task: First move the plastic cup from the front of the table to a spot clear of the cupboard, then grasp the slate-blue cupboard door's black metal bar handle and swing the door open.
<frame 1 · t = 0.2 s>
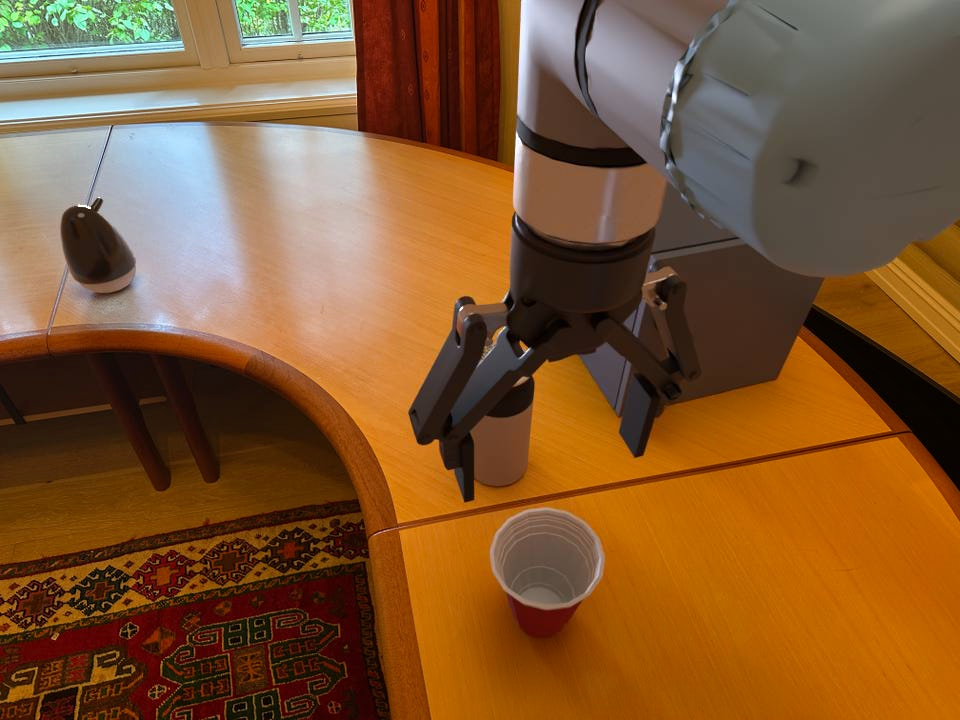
hand: (550, 464, 46), 27 cm above the table, tool pointing down, fingers open, 13 cm apart
cupboard: (663, 352, 95), on the table
cupboard door: (736, 339, 77), point 13 cm above the table, hinge at 0.0°
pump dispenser: (113, 284, 108), on the table
plastic cup: (538, 611, 65), on the table
travel mug: (497, 463, 79), on the table
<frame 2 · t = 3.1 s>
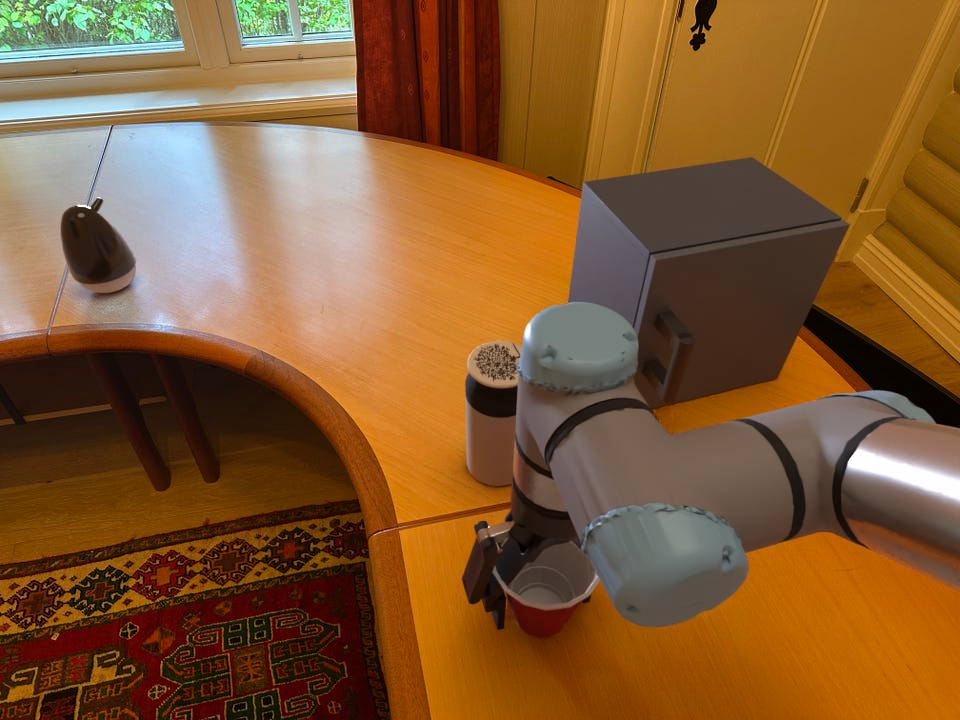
hand: (539, 603, 64), 1 cm above the table, tool pointing down, fingers closed on plastic cup, 9 cm apart
plastic cup: (538, 611, 65), on the table, touching gripper
everything else where it was.
when the fingers open (1 cm above the table, at t = 10.1 s): plastic cup stays where it is, on the table.
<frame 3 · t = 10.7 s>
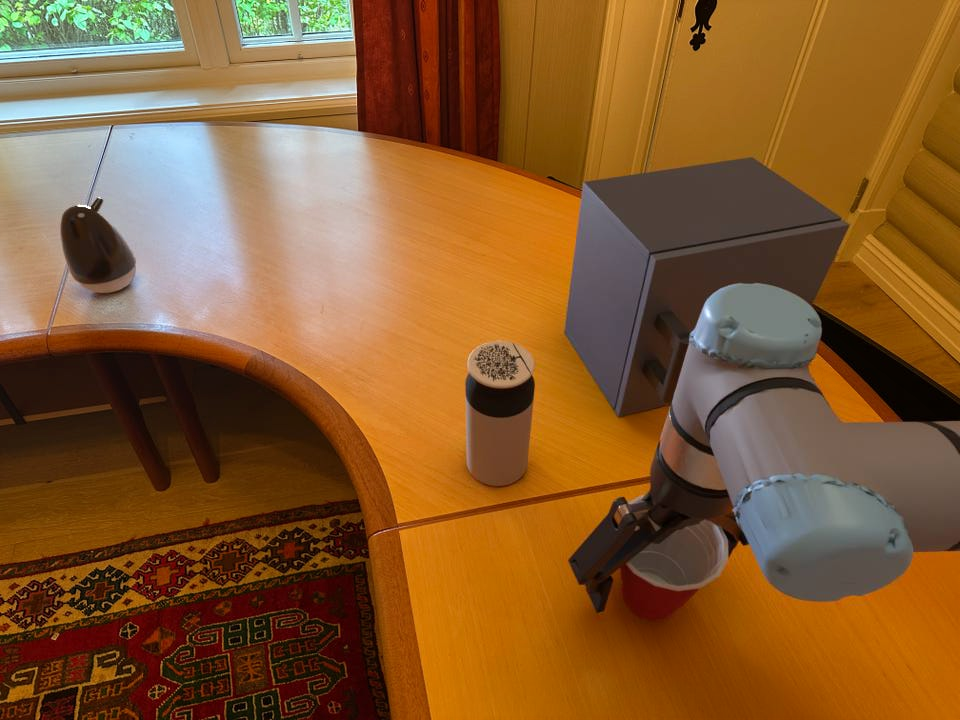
hand: (653, 582, 64), 3 cm above the table, tool pointing down, fingers open, 13 cm apart
plastic cup: (646, 595, 66), on the table
everything else where it was.
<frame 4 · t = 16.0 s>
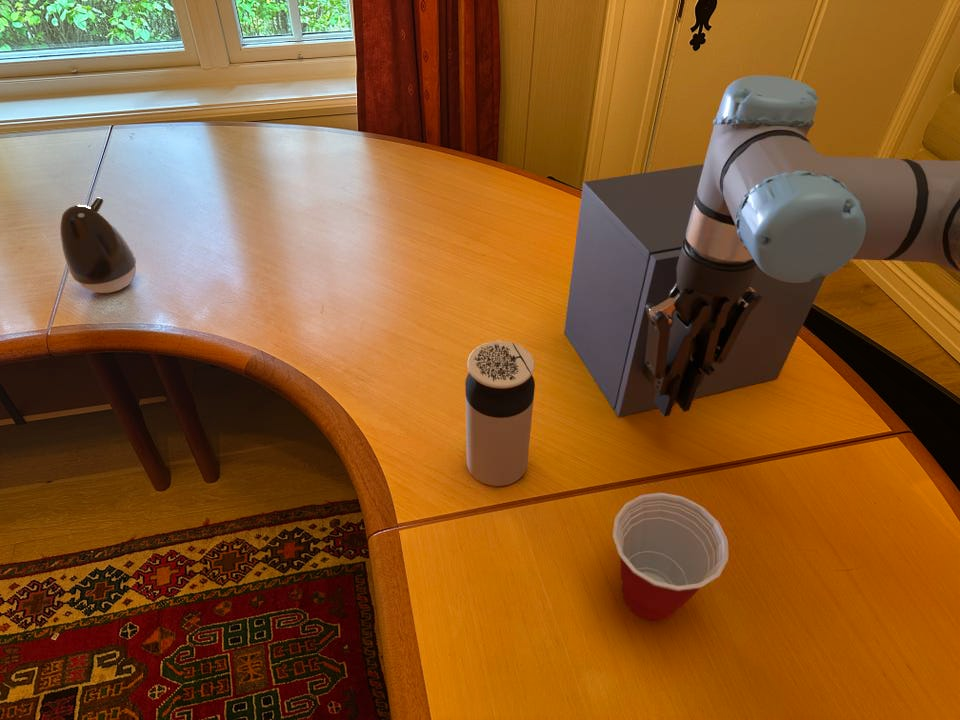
hand: (671, 405, 76), 8 cm above the table, tool pointing down, fingers closed on cupboard door, 2 cm apart
cupboard door: (736, 339, 77), point 13 cm above the table, hinge at 0.0°, touching gripper
everything else where it was.
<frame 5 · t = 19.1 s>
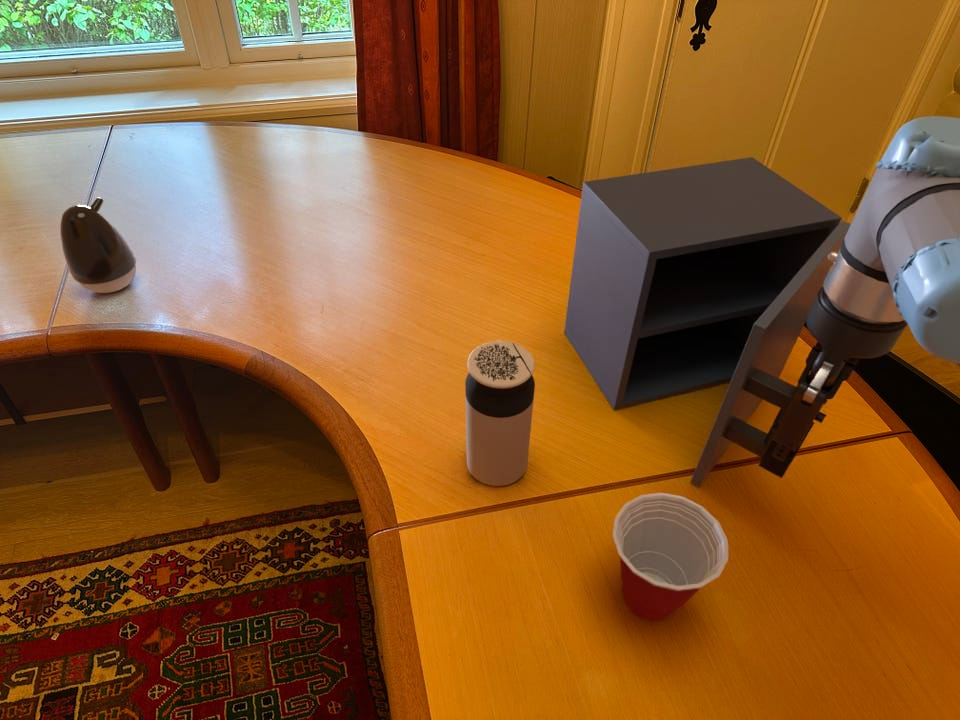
hand: (776, 462, 70), 8 cm above the table, tool pointing down, fingers closed on cupboard door, 2 cm apart
cupboard door: (793, 367, 74), point 13 cm above the table, hinge at 31.6°, touching gripper
everything else where it was.
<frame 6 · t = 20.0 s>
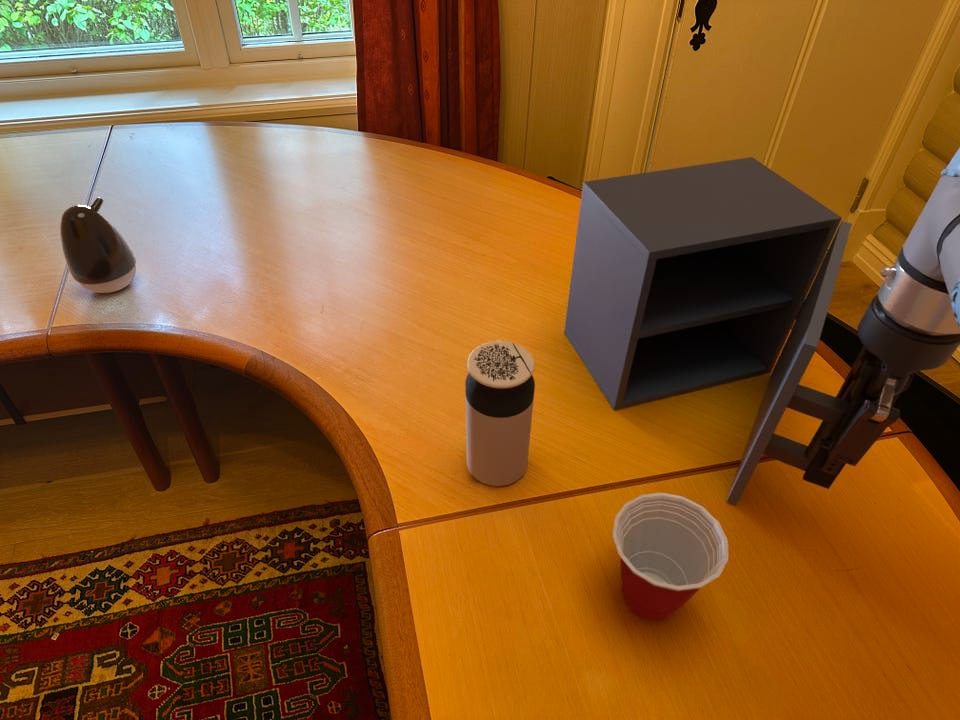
hand: (817, 472, 69), 8 cm above the table, tool pointing down, fingers open, 2 cm apart
cupboard door: (814, 372, 73), point 13 cm above the table, hinge at 41.9°, touching gripper
everything else where it was.
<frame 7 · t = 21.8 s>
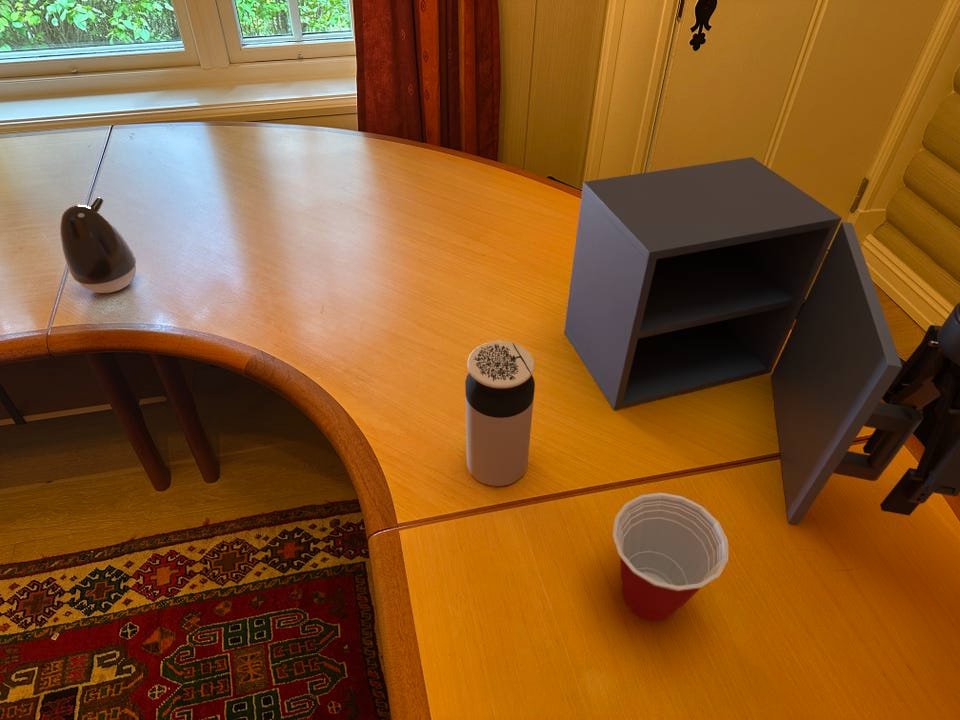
hand: (884, 480, 67), 8 cm above the table, tool pointing down, fingers open, 7 cm apart
cupboard door: (847, 376, 72), point 13 cm above the table, hinge at 57.4°
everything else where it was.
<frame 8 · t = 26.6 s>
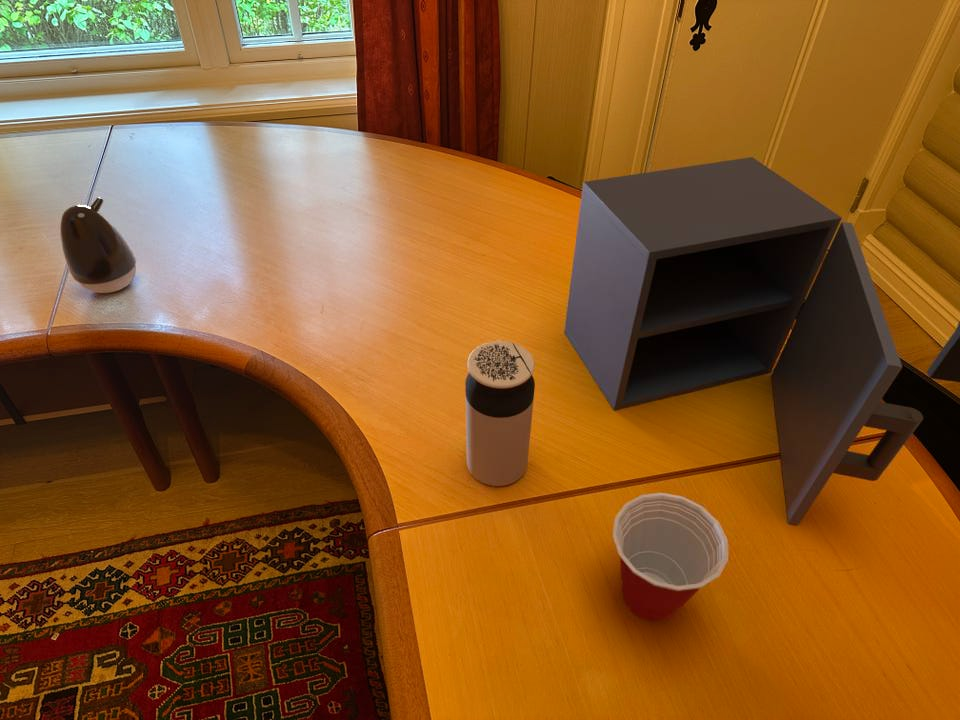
nothing on the table moved.
at the end: plastic cup inside the target area (0.1 cm from its centre), on the table; plastic cup tilted 0°; cupboard door at +57° (first picture: +0°) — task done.
